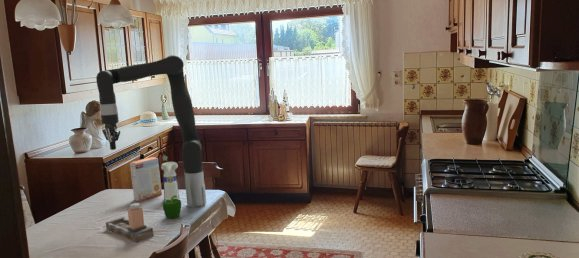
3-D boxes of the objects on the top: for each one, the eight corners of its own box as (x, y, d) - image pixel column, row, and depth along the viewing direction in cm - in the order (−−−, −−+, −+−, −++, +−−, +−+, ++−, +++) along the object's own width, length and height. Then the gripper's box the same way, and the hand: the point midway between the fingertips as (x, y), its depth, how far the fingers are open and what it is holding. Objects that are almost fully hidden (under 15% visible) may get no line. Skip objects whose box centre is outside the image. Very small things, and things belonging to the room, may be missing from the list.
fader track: (106, 229, 197) (105, 222, 197) (123, 224, 204) (122, 216, 203) (136, 242, 182) (135, 234, 182) (153, 235, 188) (152, 227, 188)
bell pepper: (165, 221, 205) (163, 200, 203) (163, 215, 212) (161, 195, 211) (183, 218, 208) (181, 197, 206) (180, 212, 215) (179, 192, 214)
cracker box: (155, 193, 249) (152, 156, 246) (162, 194, 245) (158, 157, 242) (133, 199, 238) (129, 161, 235) (139, 201, 235) (135, 163, 231)
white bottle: (181, 200, 234) (177, 153, 230) (164, 202, 232) (159, 155, 228) (180, 195, 242) (176, 150, 238) (163, 197, 240) (159, 152, 236)
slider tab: (128, 231, 188) (125, 205, 186) (140, 227, 192) (137, 201, 190) (134, 234, 185) (131, 207, 183) (146, 230, 189) (143, 203, 187)
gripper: (124, 113, 208) (127, 149, 211) (109, 111, 216) (113, 146, 219) (108, 115, 202) (113, 152, 205) (94, 113, 211) (98, 149, 214)
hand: (113, 149), depth 212 cm, fingers closed
